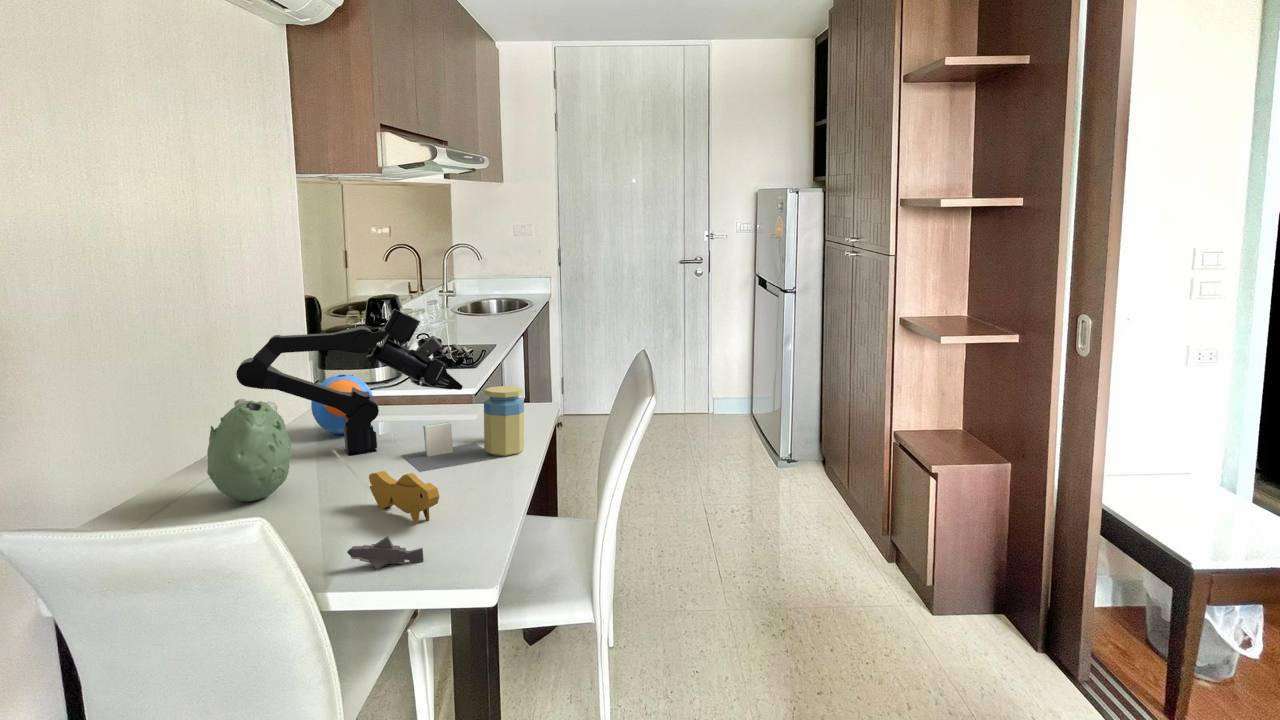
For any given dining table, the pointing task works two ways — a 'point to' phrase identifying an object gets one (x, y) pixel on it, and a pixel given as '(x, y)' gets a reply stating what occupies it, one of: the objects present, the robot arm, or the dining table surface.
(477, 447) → the mat
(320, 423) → the treat dispenser ball
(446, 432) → the tile
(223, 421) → the green rounded lump
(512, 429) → the jar
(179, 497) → the dining table surface
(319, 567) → the dining table surface
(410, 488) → the decorative fish
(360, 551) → the animal figurine
